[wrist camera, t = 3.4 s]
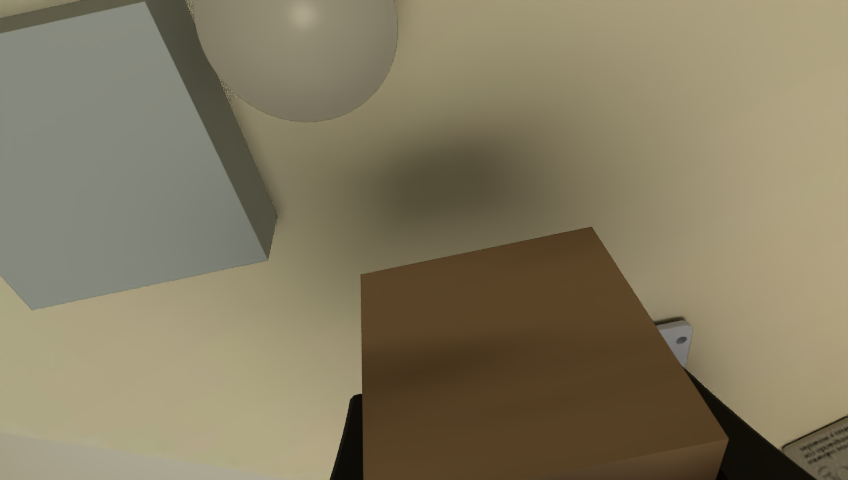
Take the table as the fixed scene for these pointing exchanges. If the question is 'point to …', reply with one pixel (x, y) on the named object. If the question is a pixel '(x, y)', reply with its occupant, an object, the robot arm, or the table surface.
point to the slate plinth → (119, 154)
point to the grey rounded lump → (299, 52)
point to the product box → (823, 452)
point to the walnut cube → (525, 372)
